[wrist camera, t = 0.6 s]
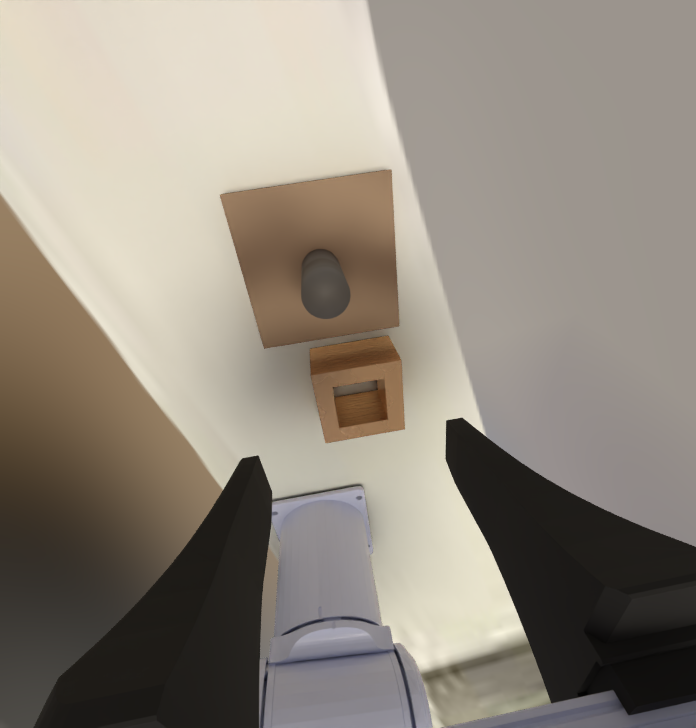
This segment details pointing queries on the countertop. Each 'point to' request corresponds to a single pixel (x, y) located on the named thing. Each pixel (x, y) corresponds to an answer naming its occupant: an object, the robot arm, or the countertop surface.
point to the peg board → (311, 226)
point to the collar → (360, 409)
